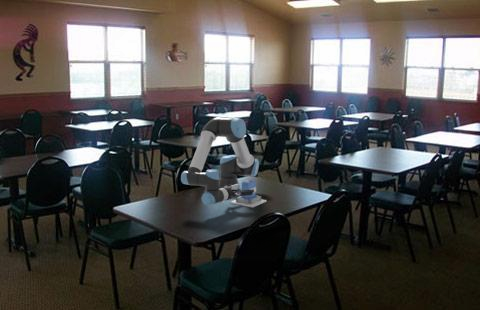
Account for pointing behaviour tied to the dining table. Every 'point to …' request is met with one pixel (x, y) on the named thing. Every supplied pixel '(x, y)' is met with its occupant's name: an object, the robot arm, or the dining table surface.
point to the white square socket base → (248, 201)
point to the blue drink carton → (247, 186)
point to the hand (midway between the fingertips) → (246, 187)
